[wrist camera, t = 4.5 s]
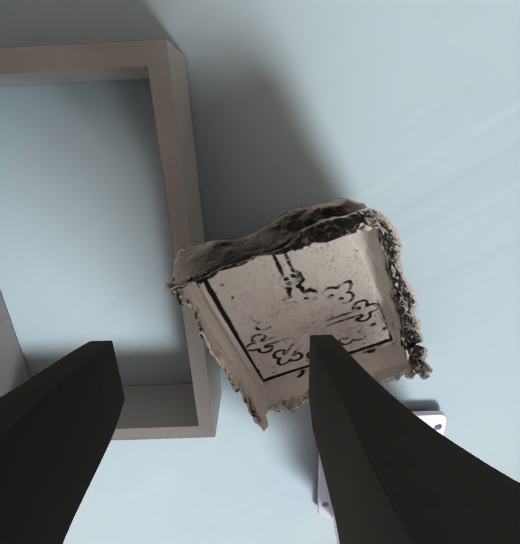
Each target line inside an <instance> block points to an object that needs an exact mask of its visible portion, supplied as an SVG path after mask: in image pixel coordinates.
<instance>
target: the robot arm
mask: <svg viewBox="0 0 520 544" xmlns="http://www.w3.org/2000/svg"><path fill="white" fill-rule="evenodd" d="M124 401H125V397H124V392H123V388H122V383H121V379H120V374H119V370H118V365H117V361H116V356H115V352H114V347H113V343H112V341H90V342H88V343H86V344H85V345H83V346H81V347H79V348H78V349H76V350H74V351H73V352H71V353H70V354H68V355H66V356H65V357H63V358H62V359H60V360H59V361H57V362H55V363H54V364H52V365H51V366H49V367H48V368H46V369H45V370H43V371H42V372H40V373H38V374H37V375H35V376H34V377H32V378H31V379H29V380H28V381H26V382H24V383H23V384H21V385H20V386H18V387H16V388H15V389H13V390H11V391H10V392H8V393H6V394H5V395H3V396H1V397H0V544H63V542H64V539H65V536H66V534H67V532H68V530H69V527H70V525H71V523H72V520H73V518H74V516H75V514H76V512H77V510H78V508H79V505H80V503H81V501H82V499H83V497H84V495H85V493H86V491H87V489H88V487H89V485H90V483H91V481H92V478H93V476H94V474H95V472H96V470H97V468H98V466H99V464H100V462H101V460H102V458H103V456H104V453H105V451H106V449H107V447H108V445H109V443H110V441H111V438H112V436H113V434H114V431H115V428H116V426H117V423H118V420H119V417H120V414H121V410H122V407H123V404H124ZM309 402H310V410H311V418H312V425H313V430H314V435H315V439H316V443H317V447H318V451H319V466H318V515H319V516H320V517H322V518H333V522H334V528H335V533H336V539H337V544H520V483H519V482H517V481H515V480H513V479H511V478H510V477H508V476H506V475H505V474H503V473H501V472H500V471H498V470H496V469H495V468H493V467H491V466H489V465H488V464H486V463H485V462H483V461H481V460H480V459H478V458H477V457H475V456H474V455H472V454H471V453H469V452H467V451H466V450H464V449H463V448H461V447H460V446H458V445H457V444H455V443H454V442H452V441H451V440H449V439H448V438H446V437H445V436H444V431H445V426H446V421H447V418H446V416H445V415H444V413H443V412H442V411H410V410H409V409H407V408H406V407H405V406H404V405H402V404H401V403H400V402H399V401H398V400H397V399H396V398H394V397H393V396H392V395H391V394H390V393H389V392H388V391H386V390H385V389H384V388H383V387H382V386H381V385H380V384H379V383H378V382H377V381H376V380H375V379H374V378H373V377H372V376H371V375H370V374H369V373H368V372H367V371H366V370H365V369H364V368H363V367H362V366H361V365H360V364H359V363H358V362H357V361H356V360H355V359H354V358H353V357H352V356H351V355H350V354H349V352H348V351H347V350H346V349H345V348H344V347H343V346H342V345H341V344H340V342H339V341H338V340H337V339H336V338H335V337H334V336H333V335H310V350H309ZM436 424H437V425H436Z"/></svg>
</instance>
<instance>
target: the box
mask: <svg viewBox="0 0 520 544" xmlns="http://www.w3.org/2000/svg"><path fill="white" fill-rule="evenodd" d="M134 79H149V81H150V88H151V95H152V102H153V109H154V116H155V123H156V130H157V137H158V144H159V151H160V158H161V165H162V172H163V179H164V186H165V193H166V200H167V207H168V214H169V221H170V228H171V235H172V242H173V249H174V256H175V259H176V257H177V254H178V251H180V250H181V249H183V248H187V247H191V246H194V245H198V244H201V243H205V234H204V225H203V215H202V206H201V197H200V187H199V178H198V169H197V159H196V150H195V141H194V131H193V122H192V113H191V103H190V94H189V85H188V75H187V66H186V57H185V55H183V54H182V53H181V52H180V51H179V50H178V49H177V48H176V47H175V46H173V45H172V44H171V43H170V42H169V41H168V40H167V39H156V40H138V41H119V42H100V43H82V44H63V45H45V46H26V47H7V48H0V86H18V85H38V84H57V83H76V82H96V81H115V80H134ZM182 312H183V319H184V326H185V333H186V340H187V347H188V354H189V361H190V368H191V375H192V382H193V384H169V385H141V386H122V388H123V392H124V397H125V401H124V404H123V407H122V410H121V414H120V417H119V420H118V423H117V426H116V428H115V431H114V434H113V436H112V438H111V440H137V439H168V438H199V437H215V434H216V427H217V420H218V413H219V406H220V400H221V384H220V374H219V365H218V364H217V363H216V362H215V361H214V359H213V358H212V357H211V356H210V355H209V353H208V352H207V350H206V348H205V344H204V342H203V339H202V338H201V337H200V334H199V326H198V324H197V322H196V319H195V315H194V312H193V311H192V310H191V308H190V307H189V306H188V305H187V304H186V306H182ZM29 379H31V377H30V374H29V371H28V368H27V366H26V363H25V360H24V357H23V354H22V351H21V348H20V346H19V343H18V340H17V337H16V334H15V331H14V328H13V326H12V323H11V320H10V317H9V314H8V311H7V308H6V306H5V303H4V300H3V297H2V294H1V291H0V397H1V396H3V395H5V394H6V393H8V392H10V391H11V390H13V389H15V388H16V387H18V386H20V385H21V384H23V383H24V382H26V381H28V380H29Z"/></svg>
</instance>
